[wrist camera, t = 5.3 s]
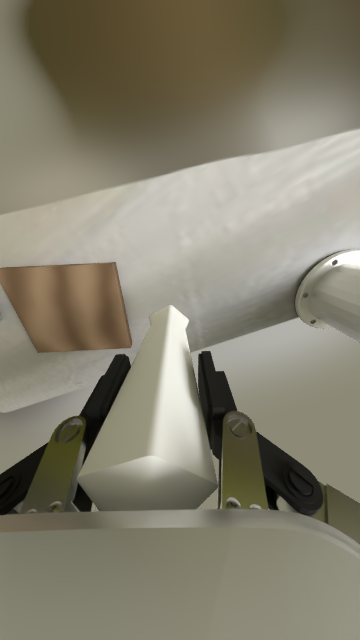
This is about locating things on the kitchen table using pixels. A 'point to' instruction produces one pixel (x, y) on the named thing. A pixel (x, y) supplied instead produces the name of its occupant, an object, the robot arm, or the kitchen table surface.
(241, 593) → the robot arm
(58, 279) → the walnut board
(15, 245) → the kitchen table surface
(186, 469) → the white tall faceted piece
